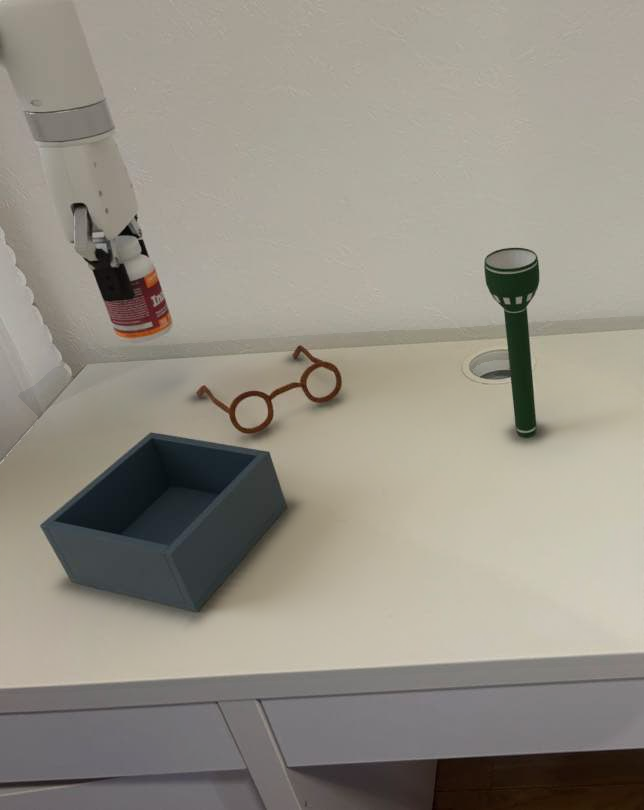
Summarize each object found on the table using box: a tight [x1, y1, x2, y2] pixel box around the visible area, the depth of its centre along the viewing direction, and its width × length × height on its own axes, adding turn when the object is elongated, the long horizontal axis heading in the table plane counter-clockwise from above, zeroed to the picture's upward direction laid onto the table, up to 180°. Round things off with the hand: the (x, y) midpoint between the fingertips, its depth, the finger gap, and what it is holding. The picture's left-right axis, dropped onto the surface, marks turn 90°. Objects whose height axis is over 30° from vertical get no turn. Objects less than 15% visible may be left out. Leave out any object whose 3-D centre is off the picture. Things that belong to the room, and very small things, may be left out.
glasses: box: [196, 344, 343, 435], centre depth 93 cm, size 13×13×5 cm
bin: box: [39, 431, 288, 613], centre depth 72 cm, size 14×14×7 cm
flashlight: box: [483, 247, 540, 439], centre depth 79 cm, size 5×5×20 cm
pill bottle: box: [94, 236, 173, 344], centre depth 90 cm, size 6×6×11 cm
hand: (129, 284), depth 90 cm, fingers closed on pill bottle, 6 cm apart
